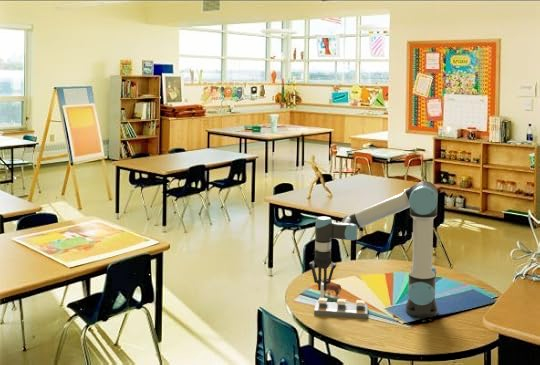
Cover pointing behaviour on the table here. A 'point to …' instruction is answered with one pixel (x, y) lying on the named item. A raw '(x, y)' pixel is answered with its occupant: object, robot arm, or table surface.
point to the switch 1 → (323, 300)
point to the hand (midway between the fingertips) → (322, 296)
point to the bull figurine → (332, 287)
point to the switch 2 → (360, 302)
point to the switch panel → (341, 310)
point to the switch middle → (341, 301)
